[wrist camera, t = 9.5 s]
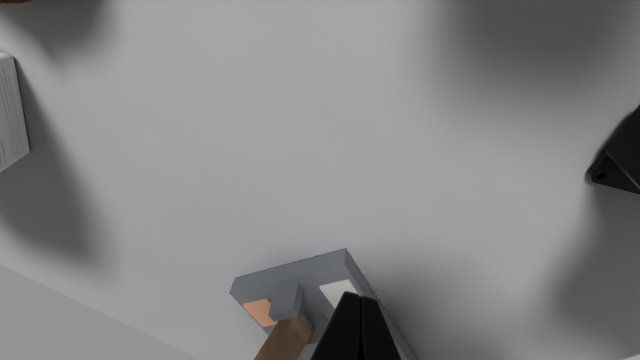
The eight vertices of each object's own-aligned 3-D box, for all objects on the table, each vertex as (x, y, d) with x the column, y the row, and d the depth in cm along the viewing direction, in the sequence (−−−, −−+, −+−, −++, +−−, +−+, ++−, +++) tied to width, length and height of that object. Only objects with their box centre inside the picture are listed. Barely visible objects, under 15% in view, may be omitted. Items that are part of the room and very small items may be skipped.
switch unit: (345, 248, 27) (341, 293, 24) (431, 380, 36) (435, 426, 33) (235, 278, 30) (218, 320, 27) (337, 391, 39) (333, 432, 36)
